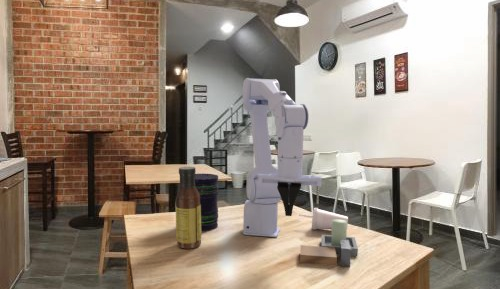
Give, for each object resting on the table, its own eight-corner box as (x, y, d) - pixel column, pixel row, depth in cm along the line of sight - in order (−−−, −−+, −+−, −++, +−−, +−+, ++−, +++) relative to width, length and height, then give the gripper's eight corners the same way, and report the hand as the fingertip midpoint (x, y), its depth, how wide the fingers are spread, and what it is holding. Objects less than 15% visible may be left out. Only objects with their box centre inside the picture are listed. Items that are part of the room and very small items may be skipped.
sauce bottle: (191, 239, 96) (192, 164, 94) (206, 245, 92) (207, 167, 90) (170, 245, 91) (170, 167, 90) (184, 252, 87) (184, 170, 85)
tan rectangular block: (300, 265, 82) (300, 254, 82) (300, 254, 88) (300, 245, 87) (336, 267, 81) (336, 257, 80) (334, 257, 86) (334, 247, 86)
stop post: (340, 266, 80) (341, 248, 80) (339, 255, 86) (340, 239, 86) (350, 266, 80) (350, 249, 80) (348, 256, 86) (348, 240, 86)
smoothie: (349, 207, 104) (300, 200, 108) (347, 223, 99) (296, 215, 103) (347, 223, 108) (300, 216, 112) (345, 239, 103) (296, 231, 107)
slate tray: (321, 253, 88) (321, 245, 88) (321, 241, 96) (321, 234, 96) (357, 256, 86) (357, 248, 86) (354, 244, 95) (354, 237, 94)
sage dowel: (330, 243, 93) (331, 218, 93) (344, 244, 93) (345, 219, 92) (331, 248, 90) (332, 223, 89) (346, 249, 89) (347, 223, 89)
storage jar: (204, 233, 101) (205, 180, 100) (177, 227, 106) (177, 176, 104) (224, 224, 109) (225, 175, 108) (198, 219, 114) (198, 172, 113)
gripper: (256, 157, 81) (255, 217, 82) (322, 160, 78) (320, 221, 80) (261, 154, 88) (260, 209, 89) (322, 156, 85) (320, 213, 86)
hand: (288, 214), depth 85 cm, fingers closed
